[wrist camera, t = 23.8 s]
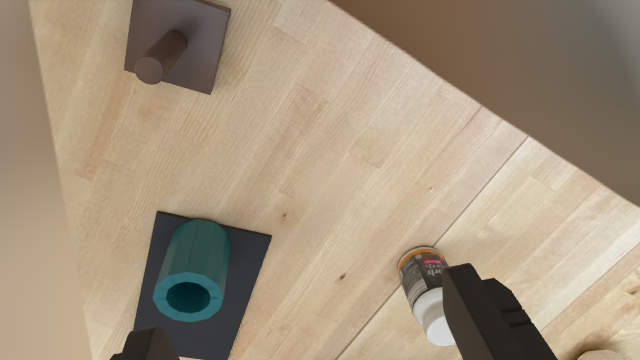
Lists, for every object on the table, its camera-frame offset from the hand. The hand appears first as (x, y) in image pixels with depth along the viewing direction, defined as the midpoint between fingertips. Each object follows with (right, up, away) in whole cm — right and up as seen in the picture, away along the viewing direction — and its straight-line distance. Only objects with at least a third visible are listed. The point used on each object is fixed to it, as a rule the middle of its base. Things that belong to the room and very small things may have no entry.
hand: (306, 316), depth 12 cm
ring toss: (-11, +16, +23) cm, 30 cm away
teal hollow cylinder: (-12, -3, +33) cm, 35 cm away
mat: (-14, -9, +37) cm, 40 cm away
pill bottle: (+12, -6, +38) cm, 40 cm away
